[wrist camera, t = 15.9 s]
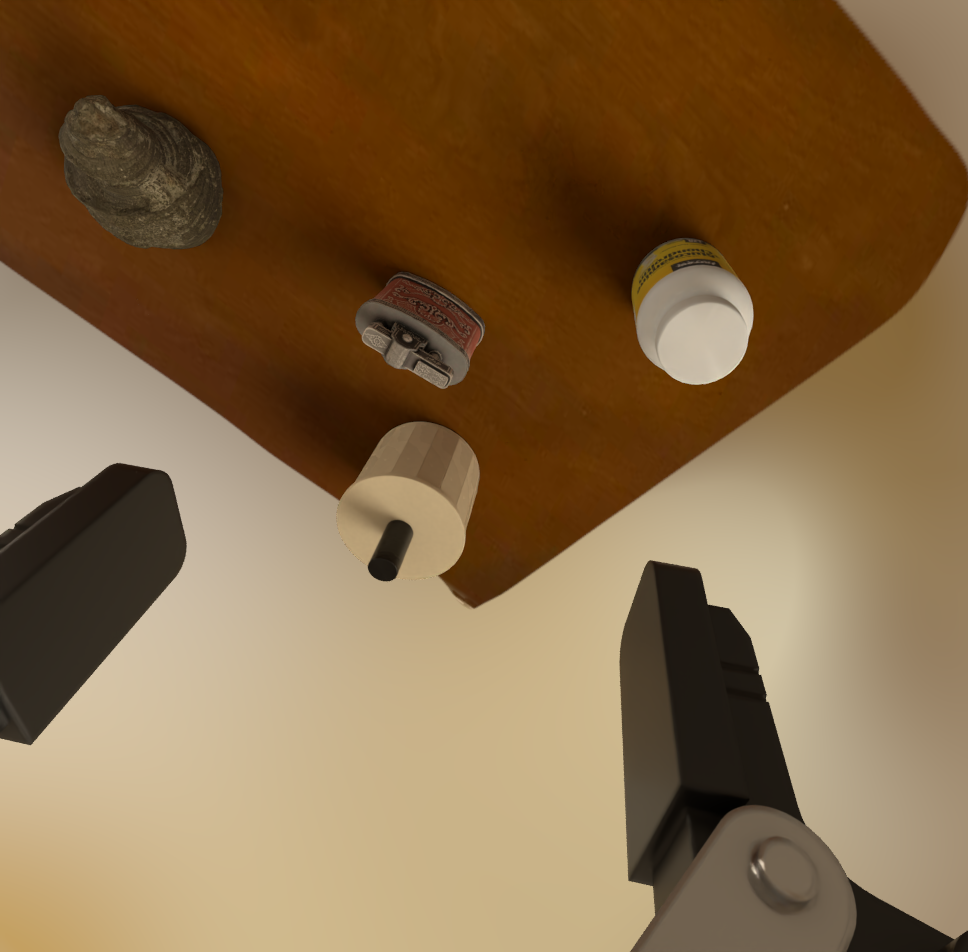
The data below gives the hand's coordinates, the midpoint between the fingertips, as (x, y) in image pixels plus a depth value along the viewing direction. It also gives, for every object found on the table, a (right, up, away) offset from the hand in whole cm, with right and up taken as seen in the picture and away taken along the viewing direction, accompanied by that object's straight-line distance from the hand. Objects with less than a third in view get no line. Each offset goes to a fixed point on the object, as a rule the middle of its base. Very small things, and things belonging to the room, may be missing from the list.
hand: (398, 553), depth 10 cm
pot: (-4, +2, +43) cm, 43 cm away
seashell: (-22, +22, +33) cm, 46 cm away
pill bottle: (+15, +15, +31) cm, 38 cm away
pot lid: (-5, -3, +36) cm, 37 cm away
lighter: (-2, +14, +35) cm, 38 cm away
